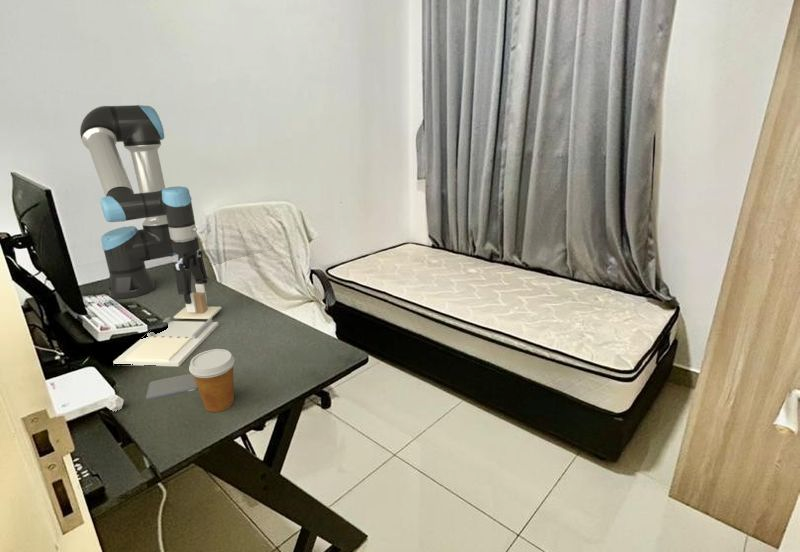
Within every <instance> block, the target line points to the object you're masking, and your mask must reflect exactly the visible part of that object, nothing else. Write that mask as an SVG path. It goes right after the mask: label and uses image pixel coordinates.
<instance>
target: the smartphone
mask: <svg viewBox="0 0 800 552" xmlns="http://www.w3.org/2000/svg"><path fill="white" fill-rule="evenodd" d="M191 391H192V392H193V391H198V387H197V385H196V382H195V379H194V377H193V375H192V374H191V372H190V373H186V374H182V375H176V376H172V377H167V378H161V379H157V380H156V379H155V380H152V381H150V382H149V383H148V387H147V391H146V395H145V400H151V399H157V398H162V397H167V396H173V395H178V394H182V393H187V392H191Z"/></svg>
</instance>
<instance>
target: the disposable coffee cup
mask: <svg viewBox="0 0 800 552" xmlns="http://www.w3.org/2000/svg"><path fill="white" fill-rule="evenodd" d="M189 362H190V363H189V366H188V371H189V372H190V373H191V374H192V375H193V377H194V379H195V382H196V385H197V387H198V389H197V391H198V392H199V395H200V397H201V400H202V403H203V406H204V408H205V410H206V411H208V412H210V413H219V412H222V411H225V410H227V409H230V408H231V406H232V405H234V402H235V391H234V390H235V389H234V388H235V387H234V386H235V385H234V384H235V383H234V364H235V362H236V361H235V357H234V356H233V355H232V353H231V352H230V351H229V350H227V349H222V348H214V349H213V348H212V349H208V350H205V351H202V352H200V353H198V354H196V355H195V356H193V357H192V358H191V360H190V361H189Z"/></svg>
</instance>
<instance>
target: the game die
mask: <svg viewBox="0 0 800 552" xmlns="http://www.w3.org/2000/svg"><path fill="white" fill-rule="evenodd" d="M124 401H125V400H124V399H123V398H122V397H120V396H119V395H118V394H115V395H112V396H109V397H108V400H107V402H106V406H105V408H107V409H109V410H110V411H111V410H112V412H114V411H115V412H118V411H119V410H120V409H121V410H122V408H123V405H124V403H125V402H124ZM117 410H118V411H117ZM115 412H114V413H115Z"/></svg>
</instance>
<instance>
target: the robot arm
mask: <svg viewBox="0 0 800 552" xmlns="http://www.w3.org/2000/svg"><path fill="white" fill-rule="evenodd" d="M79 129H80V131H79V134H80V139H81V142H82V144H83V146H84V147H86V148H87V149H88V151H89V153H90V156H91V160H92V161H93V164H94V168H95V170H96V173H97V176H98V178H99V181H100V184H101V187H102V189H103V190H102V191H103V192H104V197H101V198H100V205H101V210H102V213H103V216H104V220H105V221H106V222H107V223H118V222H119V223H120V222H125V221H126V222H128V221H132V220H133V221H134V220H141V219H145V220H144V221H143V222H142V229H138V228H137V226H134V225H131V226H129V225H128V226H121V227H118V228H115V229H112V230H109V231H107V232H105V233H103V235H102V236H101V245H102V246H101V247H102V248H101V249H102V250H103V252H104V256H105V261H106V264H107V269H108V273H109V276H108V286H107V291H108V295H109V297H110V296H111V298H114V299H129V298H135V297H140V296H143V295H145V294H148V293H150V292H152V291H154V290H155V289H156V284H155V280H154V279H153V278H152V276H151V274H150V272H149V270H148V269H147V268H146V264H145V262H147V261H152V260H157V259H162V258H163V259H164V258H168V257H173V256H177V263H172V267H173V269H174V274H175V281H176V288H177V292H178V293H177V294H178V295H183V299H184V303H185V307H186V309H187V312H193V313H196V312H197V311H196V305H195V300H194V295H193V293H191V292H192V276H193V278H194V281H195V284H194V286H195V287H194V288H195V292H198V293H205V296H206V302H207V303H208V298H207V292H206V288H205V287H206V286H205V284H207V283H208V280H207V279H208V275H207V272H206V267H205V261H204V259H203V258H204V257H203V251H202V250H200V248H201V247H200V242H199V238H198V237H197V236H198V232H197V231H198V228H197V227H196V221H195V216H194V209H193V203H192V200H193V199H192V196H191V194H190V190H189V188H188V187H187V186H178V185H177V186H170V187H166V183H165V179H164V175H163V170H162V166H161V160H160V157H159V155H160V154H159V151H158V150H159V148H160V147H161V146H162V143H161V141H163V140H164V139H165V130H164V127H163V124H162V121H161V119H160V115H159V114H158V112H157V111H156V109H155V108H154V107H152V106H150V105H141V104H140V105H139V104H136V105H102V106H97V107H96V108H93V109H91V110H90V111H89V112H88V113H87V114H86V115H85V116H84V118H83V119H82V122H81V125H80V128H79ZM121 142H122V143H123V147H124V148H125V149H126V150H128V151H129V152H130V155H131V160H132V164H133V169H134V173H135V177H136V182H137V187H138V191H139V192H138V193H135V192H134V189H133V186H132V184H131V181H130V179H129V177H128V174H127V172H126V169H125V167H124V164H123V161H122V158H121V156H120V152H119V151H118V148H117V143H121Z"/></svg>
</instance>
